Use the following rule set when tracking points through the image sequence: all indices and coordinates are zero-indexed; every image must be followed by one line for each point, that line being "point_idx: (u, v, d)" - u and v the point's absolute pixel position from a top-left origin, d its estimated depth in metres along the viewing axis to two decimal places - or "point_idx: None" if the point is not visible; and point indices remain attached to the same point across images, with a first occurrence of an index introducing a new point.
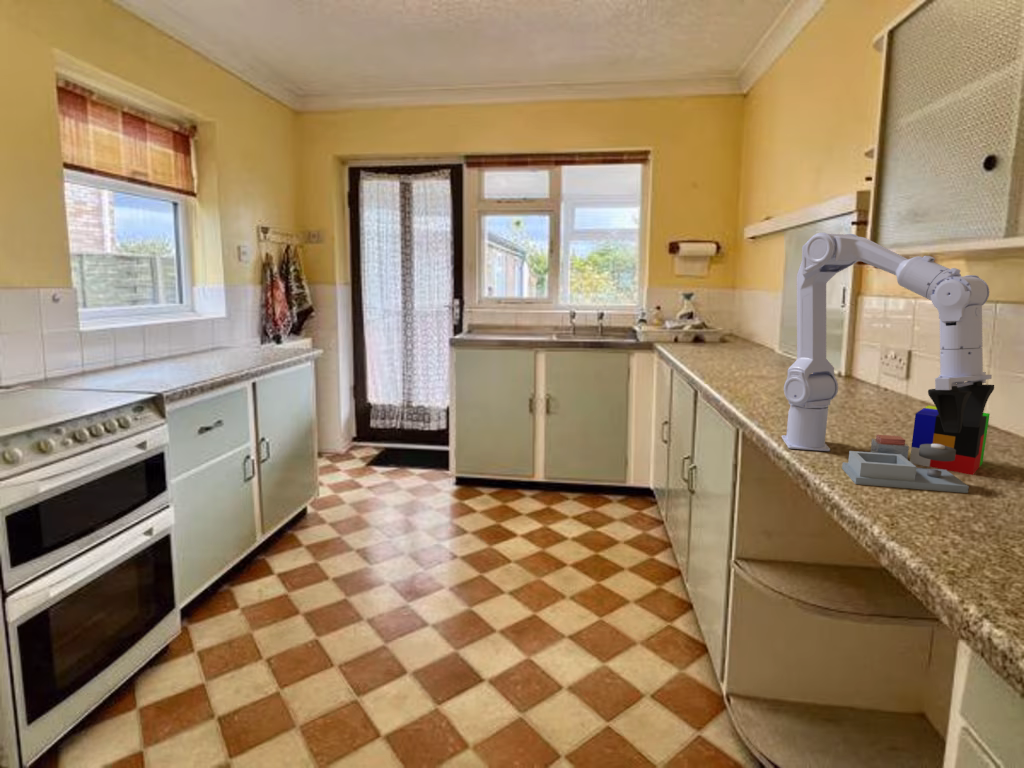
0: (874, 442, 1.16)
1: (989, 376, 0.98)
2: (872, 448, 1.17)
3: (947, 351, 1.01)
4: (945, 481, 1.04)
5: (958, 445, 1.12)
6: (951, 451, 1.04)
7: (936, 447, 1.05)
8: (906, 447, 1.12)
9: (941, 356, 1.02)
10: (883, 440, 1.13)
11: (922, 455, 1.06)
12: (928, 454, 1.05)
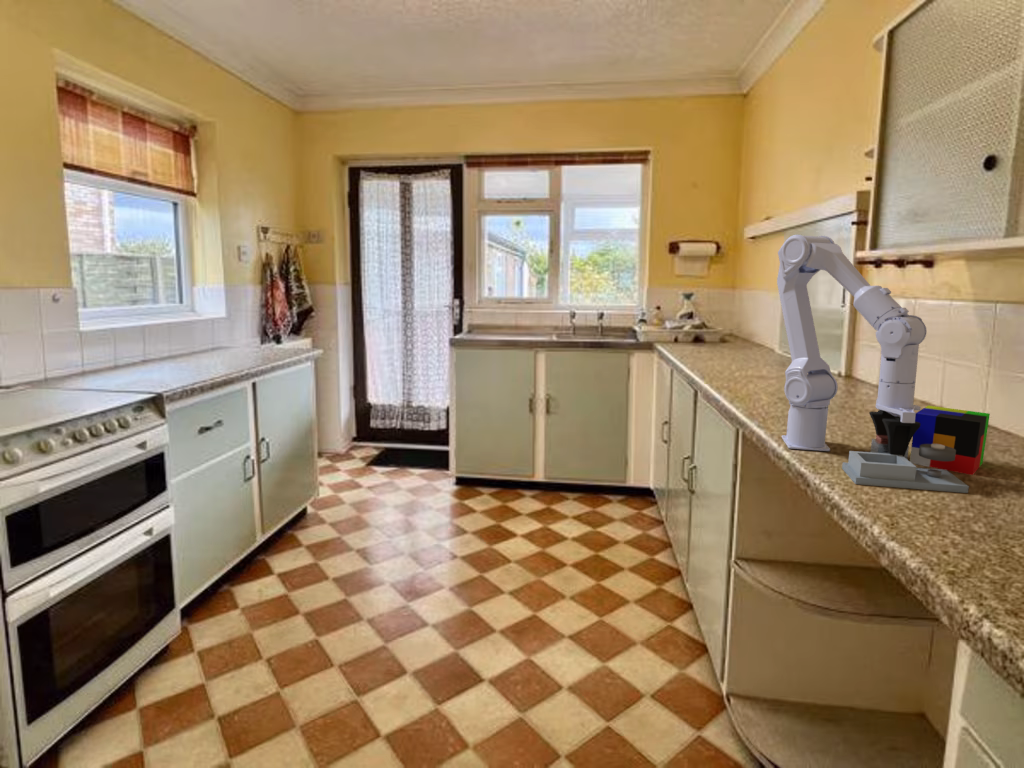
0: (874, 442, 1.16)
1: (919, 407, 1.12)
2: (872, 448, 1.17)
3: (896, 385, 1.10)
4: (945, 481, 1.04)
5: (958, 445, 1.12)
6: (951, 451, 1.04)
7: (936, 447, 1.05)
8: None
9: (887, 388, 1.11)
10: (883, 440, 1.13)
11: (922, 455, 1.06)
12: (928, 454, 1.05)
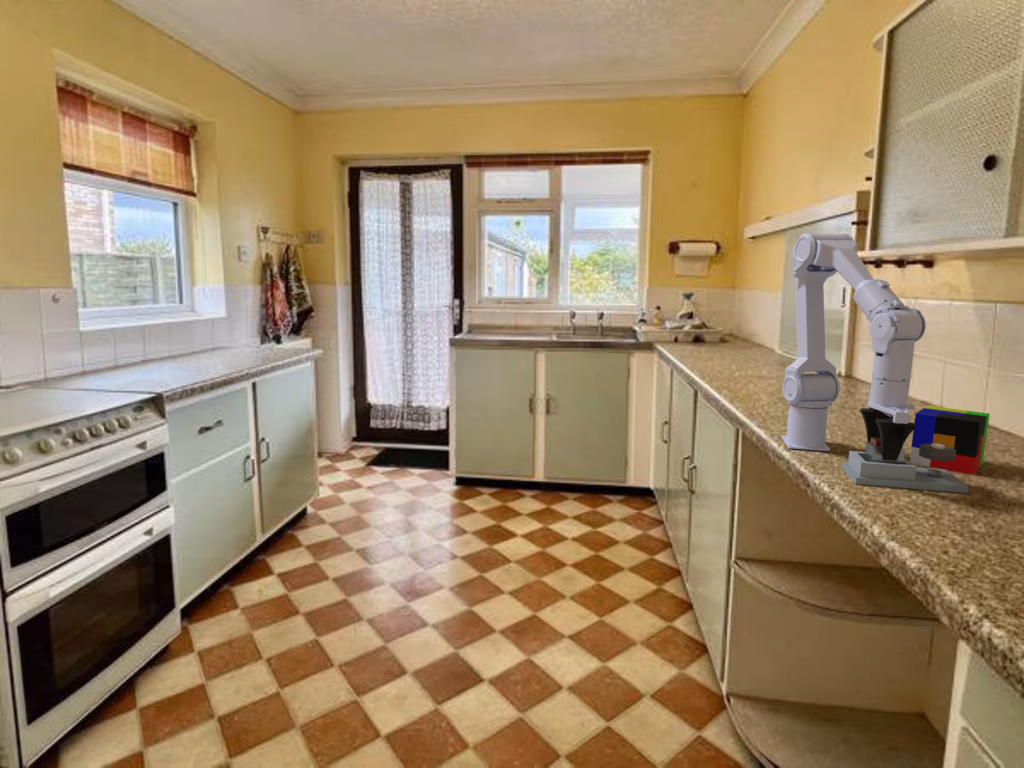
0: (868, 445, 1.09)
1: None
2: (866, 451, 1.10)
3: (889, 382, 1.04)
4: (945, 481, 1.04)
5: (958, 445, 1.12)
6: (951, 451, 1.04)
7: (936, 447, 1.05)
8: (902, 450, 1.06)
9: (879, 386, 1.05)
10: (878, 443, 1.07)
11: (922, 455, 1.06)
12: (928, 454, 1.05)
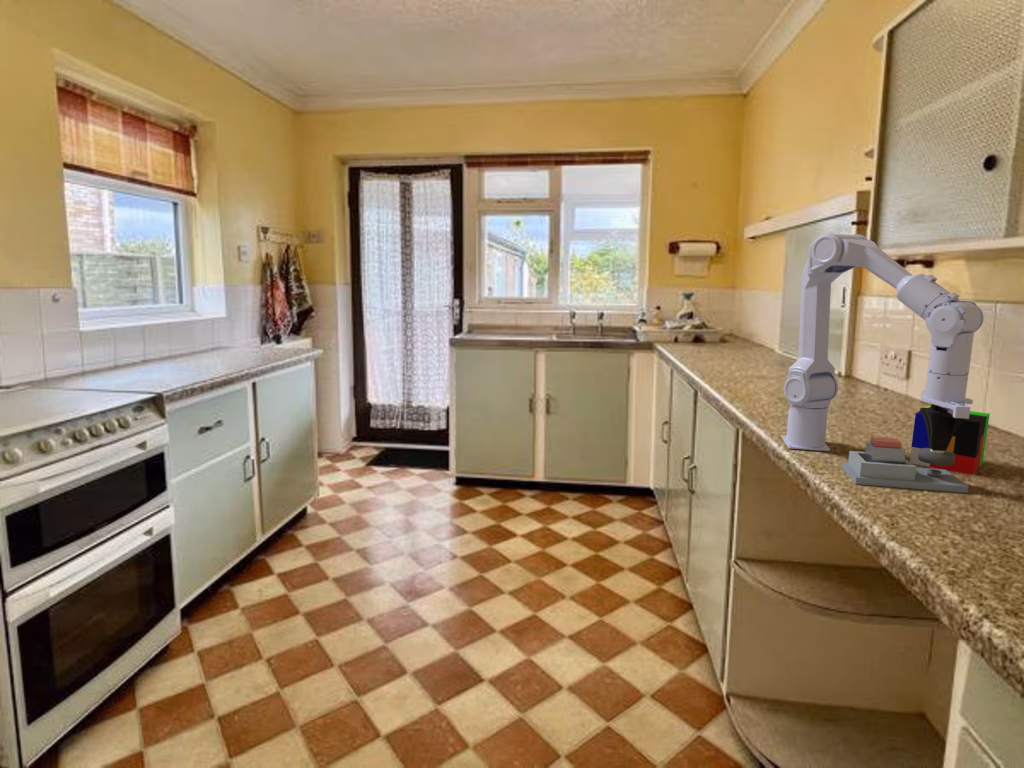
0: (868, 445, 1.09)
1: None
2: (866, 451, 1.10)
3: (948, 376, 1.01)
4: (945, 481, 1.04)
5: (958, 445, 1.12)
6: (950, 455, 1.04)
7: (935, 451, 1.05)
8: (902, 450, 1.06)
9: (937, 380, 1.02)
10: (878, 443, 1.07)
11: (921, 459, 1.06)
12: (928, 458, 1.05)
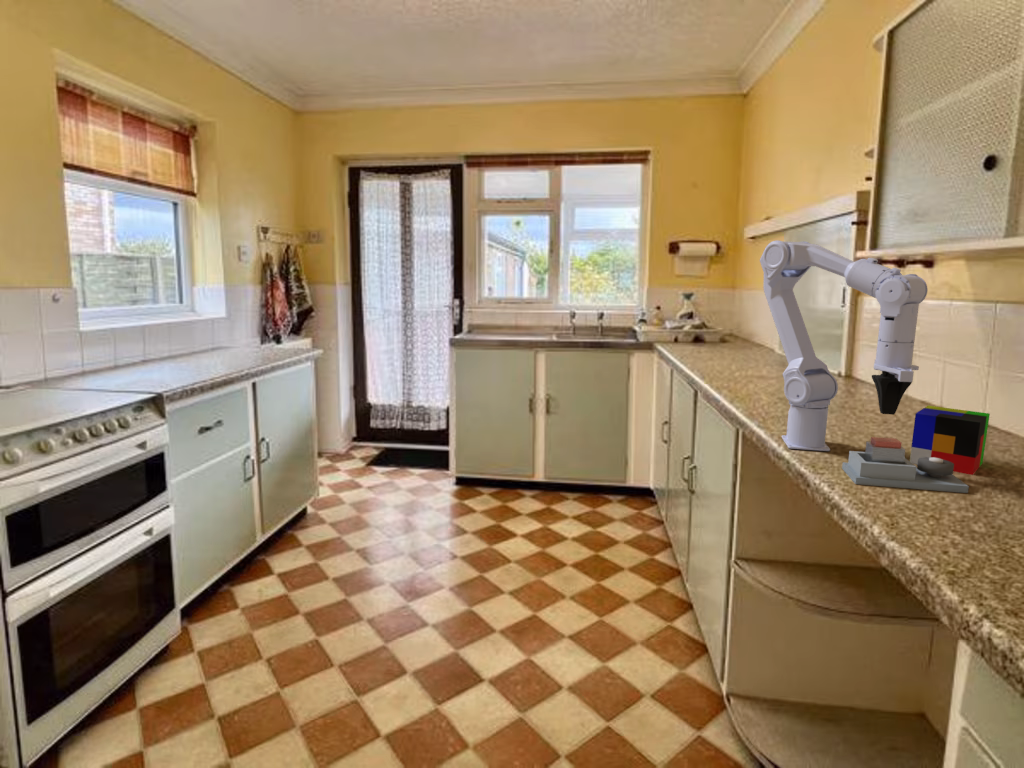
0: (868, 445, 1.09)
1: None
2: (866, 451, 1.10)
3: (895, 344, 1.09)
4: (945, 481, 1.04)
5: (958, 445, 1.12)
6: (949, 465, 1.04)
7: (934, 461, 1.06)
8: (902, 450, 1.06)
9: (885, 348, 1.10)
10: (878, 443, 1.07)
11: (920, 469, 1.06)
12: (926, 468, 1.05)
